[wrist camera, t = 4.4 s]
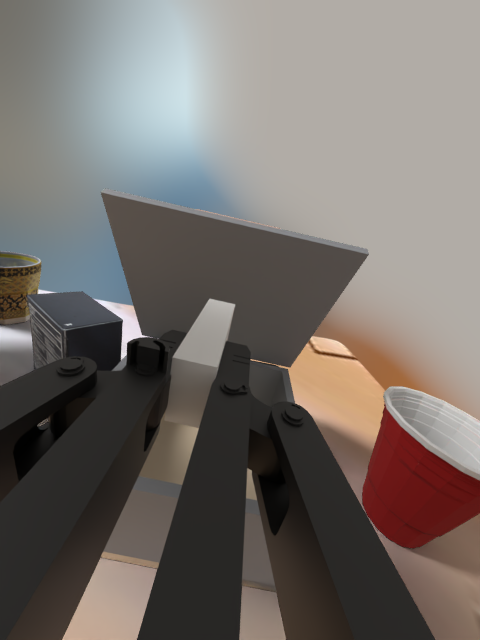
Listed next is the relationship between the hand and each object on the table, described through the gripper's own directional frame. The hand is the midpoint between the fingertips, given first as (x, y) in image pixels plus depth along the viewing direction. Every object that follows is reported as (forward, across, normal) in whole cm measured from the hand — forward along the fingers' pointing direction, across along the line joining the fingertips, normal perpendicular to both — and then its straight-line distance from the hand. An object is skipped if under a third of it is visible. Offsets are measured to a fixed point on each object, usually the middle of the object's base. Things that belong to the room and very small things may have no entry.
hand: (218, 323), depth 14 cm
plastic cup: (+4, +21, -18) cm, 28 cm away
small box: (+12, -18, -18) cm, 28 cm away
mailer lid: (+9, 0, -2) cm, 9 cm away
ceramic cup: (+23, -38, -18) cm, 48 cm away
